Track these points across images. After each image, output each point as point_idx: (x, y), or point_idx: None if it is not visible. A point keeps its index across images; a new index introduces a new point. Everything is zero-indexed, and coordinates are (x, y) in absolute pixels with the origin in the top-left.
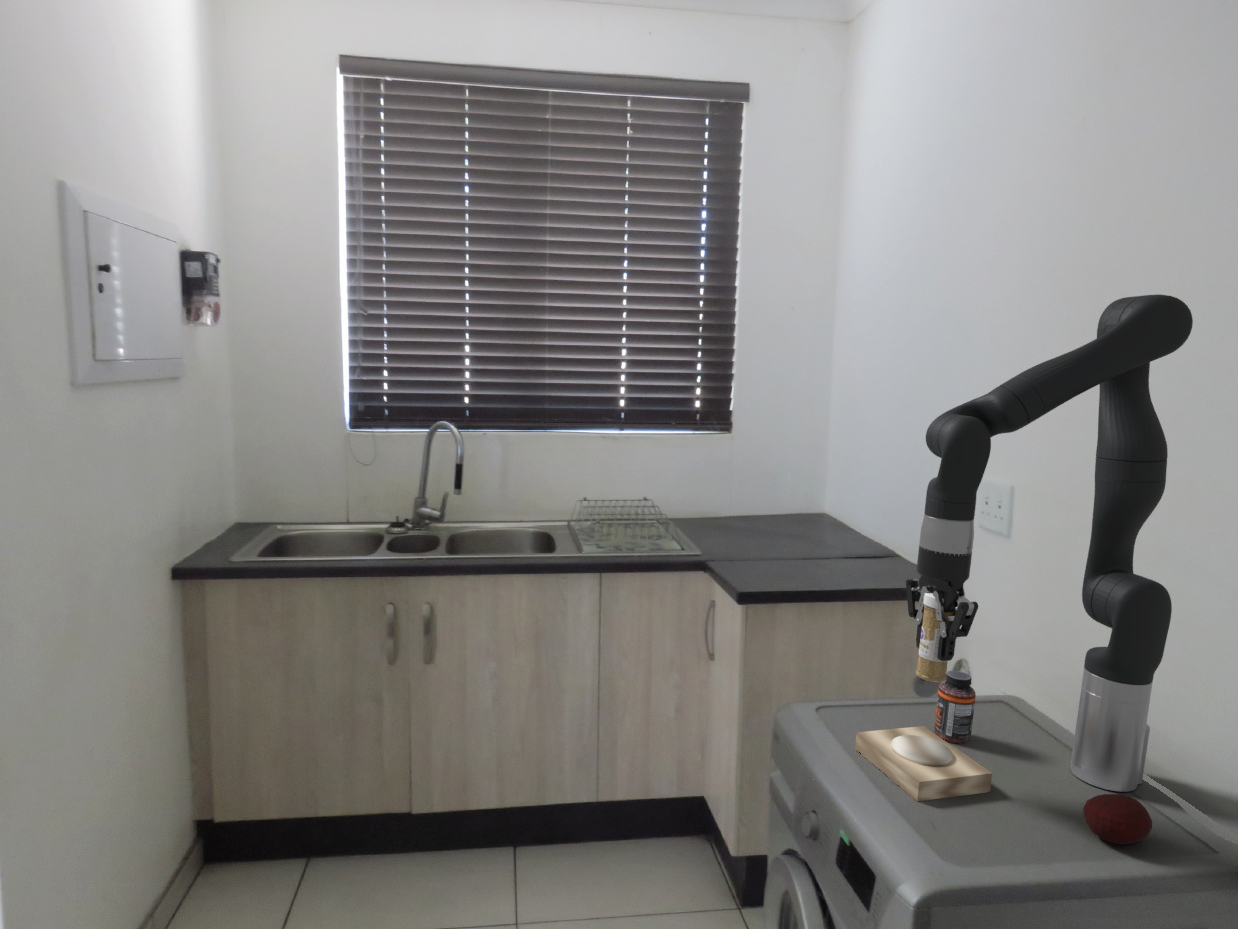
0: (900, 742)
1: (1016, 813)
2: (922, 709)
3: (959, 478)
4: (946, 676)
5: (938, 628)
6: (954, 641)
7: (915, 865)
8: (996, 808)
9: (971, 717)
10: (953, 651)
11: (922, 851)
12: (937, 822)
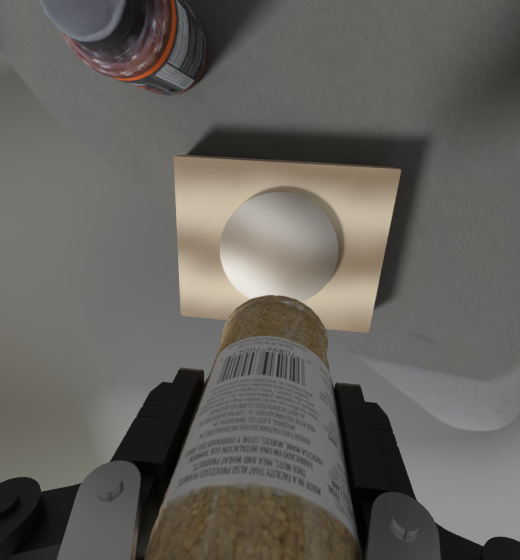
0: (245, 277)
1: (465, 176)
2: (21, 8)
3: None
4: (310, 312)
5: None
6: (411, 495)
7: (477, 416)
8: (435, 200)
9: (186, 8)
10: (393, 439)
11: (461, 391)
12: (419, 327)
